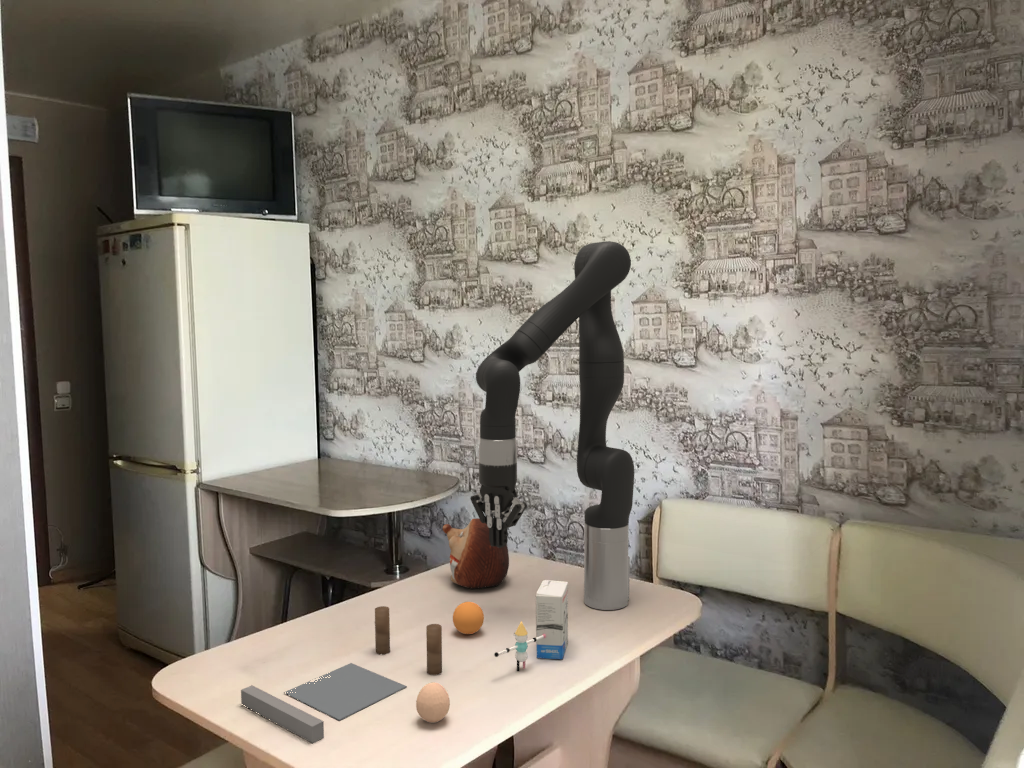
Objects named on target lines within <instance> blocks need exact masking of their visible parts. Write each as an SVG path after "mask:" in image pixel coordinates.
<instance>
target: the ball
mask: <svg viewBox="0 0 1024 768" xmlns="http://www.w3.org/2000/svg"><path fill="white" fill-rule="evenodd" d="M484 620H485V615H484V611H483V609H482V607H481V606H480V605H479V604H477V603H476V602H472V601H464V602H462V603H459V605H457V606H456V607H455V609H454V611H453V614H452V622H453V623H452V624H453V626H454V627H455V629H456V630H457V631H458V632H460V633H461V634H462V635H463V634H464V635H472V634H475V633H477V632H478V631H479V630H481V628H482V626H483V625H484V622H485V621H484Z"/></svg>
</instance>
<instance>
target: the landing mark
mask: <svg viewBox="0 0 1024 768" xmlns="http://www.w3.org/2000/svg"><path fill="white" fill-rule="evenodd" d="M329 675H330V676H331V677H330V676H329ZM322 676H323V677H324V678H323V677H322ZM327 676H328V677H330V678H328V677H327ZM318 677H319V678H320V677H321V678H322V679H321V678H320V679H318V681H317V680H315V681H317V682H315V681H314V682H310V681H311V680H309V681H307V682H304V683H305V684H304V683H302V684H300V685H298V686H295V687H292V688H291V689H288V690H287V691H284V692H283V694H284V693H285V692H286V694H288V695H290V696H292V697H293V698H292V697H291V698H292V699H294V698H295V699H294V700H296V699H298V700H300V701H301V702H300V701H299V702H300V703H302V702H303V704H304V703H306V704H307V705H306V704H305V705H306V706H308V705H309V707H310V706H311V707H310V708H312V707H314V708H316V709H317V710H316V709H315V710H316V711H318V710H319V712H320V711H321V713H322V712H323V714H324V713H325V715H326V714H327V715H326V716H328V715H329V717H330V716H331V718H333V719H335V720H337V721H338V722H341V721H342V720H344V719H346V718H348V717H350V716H352V715H354V714H356V713H358V712H361V711H362V710H364V709H366V708H368V707H370V706H372V705H374V704H376V703H378V702H380V701H382V700H384V699H387V698H388V697H390V696H392V695H394V694H396V693H398V692H400V691H403V690H404V689H406V688H407V685H406V684H403V683H400V682H398V681H395V680H394V679H391V678H388V677H387V676H384V675H381V674H379V673H376V672H374V671H371V670H369V669H367V668H365V667H362V666H360V665H357V664H355V663H352V662H350V663H347V664H345V665H343V666H340V667H339V668H337V669H334V670H332V671H330V673H329V672H328V674H327V673H325V674H323V675H321V676H320V675H319V676H318ZM325 677H327V678H325ZM320 680H321V681H320ZM306 683H307V684H306ZM309 683H310V684H309ZM314 683H315V684H314ZM295 688H296V689H295ZM291 690H292V691H291ZM287 692H288V693H287ZM290 692H291V693H290ZM292 692H293V693H292ZM295 692H296V693H295ZM286 694H285V695H286ZM288 695H287V696H288ZM290 696H289V697H290ZM298 700H297V701H298ZM314 708H313V709H314Z"/></svg>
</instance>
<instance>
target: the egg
mask: <svg viewBox="0 0 1024 768" xmlns="http://www.w3.org/2000/svg"><path fill="white" fill-rule="evenodd" d="M447 691H448V690H446V688H445V687H444V686H443V685H442V684H440V682H439V683H438V682H428V683H426V684H425V685H423V686H422V688H421V689H420V691H419V692H418V694H417V697H416V700H415V707H416V712H417V714H418V716H419V717H420V718H421V719H422V720H423V721H425V722H427V723H430V724H431V723H432V724H433V723H438V722H440V721H442V720H443V719H444V718H445V717H446V716H447V715H448V713H449V711H450V710H449V709H450V705H451V700H450V696H449V693H448V692H447Z"/></svg>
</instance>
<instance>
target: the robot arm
mask: <svg viewBox="0 0 1024 768" xmlns="http://www.w3.org/2000/svg"><path fill="white" fill-rule="evenodd" d="M573 266H574V267H573V268H574V270H573V271H574V272H573V273H574V280H573V281H571V283H570V284H569V285H568V286H566V287H565V288H563V290H562V291H560V292H559V294H557V295H555V296H554V297H553V298H552V299H550V300H549V301H547V302H546V303H545V304H543V305H542V306H541V307H540V308H539V309H537V310H536V311H534V312H533V314H532V315H530V316H529V317H528V318H527V319H526V320H525V321H524V323H522V325H520V327H519V328H518V329H517V330H516V331H515V332H514V333H513V334H512V335H511V336H510V338H509V339H507V340H506V341H505V342H504V343H502V344H501V345H500V346H498V347H497V348H496V349H495V350H493V351H492V352H491V353H489V354H488V355H487V356H486V357H485V358H484V359H483V360H482V361H481V362H480V364H479V365H478V367H477V370H476V373H475V379H476V381H475V382H476V383H477V386H478V387H479V388H480V389H481V390H482V391H483V392H485V405H484V409H482V411H481V412H480V416H479V445H478V483H479V484H480V488H479V492H478V493H476V494H474V495H471V496H470V501H471V503H472V506H473V507H474V510H475V513H476V514H477V516H478V518H479V519H480V521H481V522H482V523H486V524H487V526H488V527H489V541H490V543H491V546H494V547H495V546H497V547H498V548H502V547H505V546H506V544H507V545H508V542H509V541H508V540H509V539H508V538H509V537H508V535H509V533H508V531H509V528H511V527H514V526H516V525H517V524H518V522H519V520H520V519H521V517H522V516H523V514H524V512H525V511H526V509H527V507H528V505H527V502H525V501H523V502H522V501H520V500H519V498H518V493H517V491H516V485H517V482H518V446H517V437H516V436H517V433H516V431H517V429H516V427H517V425H516V424H517V423H516V415H517V408H518V404H519V399H520V393H521V376H520V372H521V371H522V370H523V369H524V368H525V367H527V366H529V365H532V364H534V363H536V362H537V361H538V360H539V359H540V358H542V357H543V355H545V354H546V352H548V350H549V349H550V348H551V347H553V345H554V344H555V342H556V341H558V339H559V338H560V337H561V336H562V335H563V334H564V333H565V332H566V330H568V329H569V327H570V326H572V325H573V324H574V323H575V322H576V321H577V320H578V347H579V348H578V353H579V354H578V361H579V362H578V367H579V368H578V372H579V373H578V374H579V375H578V377H579V426H578V427H579V428H578V429H579V431H578V440H577V441H578V442H577V451H576V452H577V453H576V472H577V476H578V480H579V482H580V483H581V484H582V485H583V487H587V488H589V489H591V490H597V491H600V492H601V495H600V503H599V504H595V505H590V506H588V507H587V508H586V509H585V510H584V525H583V526H584V530H583V531H584V533H583V535H584V540H583V541H584V547H583V548H584V550H583V551H584V552H583V553H584V557H583V559H584V561H583V567H584V568H583V569H584V570H583V572H584V573H583V576H584V577H583V579H584V580H583V603H584V604H585V605H586V606H588V607H589V608H592V609H596V610H603V611H615V610H619V609H623V608H625V607H627V605H629V604H628V601H629V600H630V573H631V572H630V570H631V569H630V567H631V566H630V564H631V563H630V561H631V559H630V556H629V539H630V538H629V533H630V532H629V527H630V526H629V523H630V522H629V521H630V515H631V512H632V508H633V504H634V503H633V501H634V500H633V499H634V484H635V466H634V465H635V464H634V460H633V458H632V455H631V454H630V453H629V452H628V451H626V450H625V449H622V448H616V447H611V446H610V447H609V446H607V437H606V436H607V426H608V419H609V418H610V417H609V416H610V414H611V412H612V410H613V409H614V407H615V404H616V403H617V401H618V399H619V397H620V395H621V393H622V390H623V388H624V383H625V355H624V348H623V344H622V340H621V338H620V334H619V331H618V329H617V327H616V324H615V319H614V316H613V312H612V310H613V309H612V290H613V289H615V288H616V287H617V286H619V285H620V284H621V283H622V282H624V281H625V280H626V279H627V277H628V275H629V273H630V270H631V266H632V261H631V255H630V252H629V251H628V249H627V248H626V247H625V246H624V245H623V244H622V243H619V242H617V241H610V240H609V241H599V242H591V243H587V244H585V245H584V246H582V247H581V248H580V249H579V251H578V252H577V253H576V256H575V259H574V265H573Z"/></svg>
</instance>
